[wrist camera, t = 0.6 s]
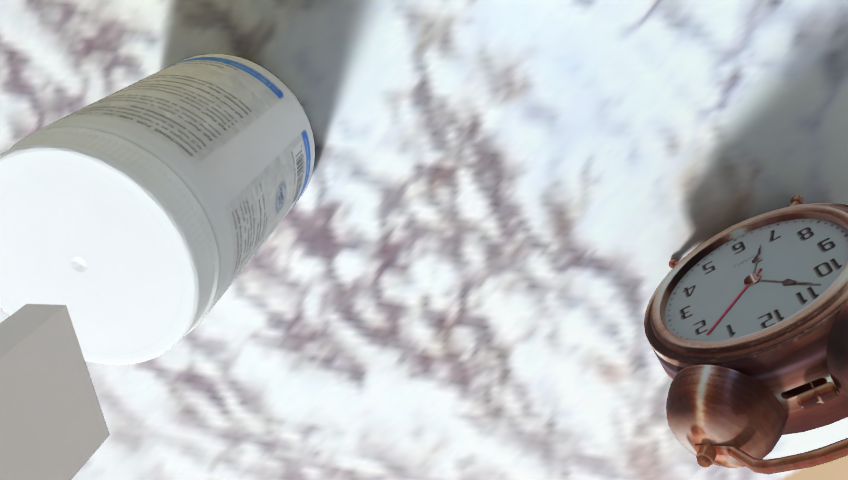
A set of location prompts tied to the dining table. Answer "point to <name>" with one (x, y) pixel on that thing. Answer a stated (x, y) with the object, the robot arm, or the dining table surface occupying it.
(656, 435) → the dining table surface
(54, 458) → the robot arm
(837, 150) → the dining table surface
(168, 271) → the supplement tub
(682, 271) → the alarm clock
